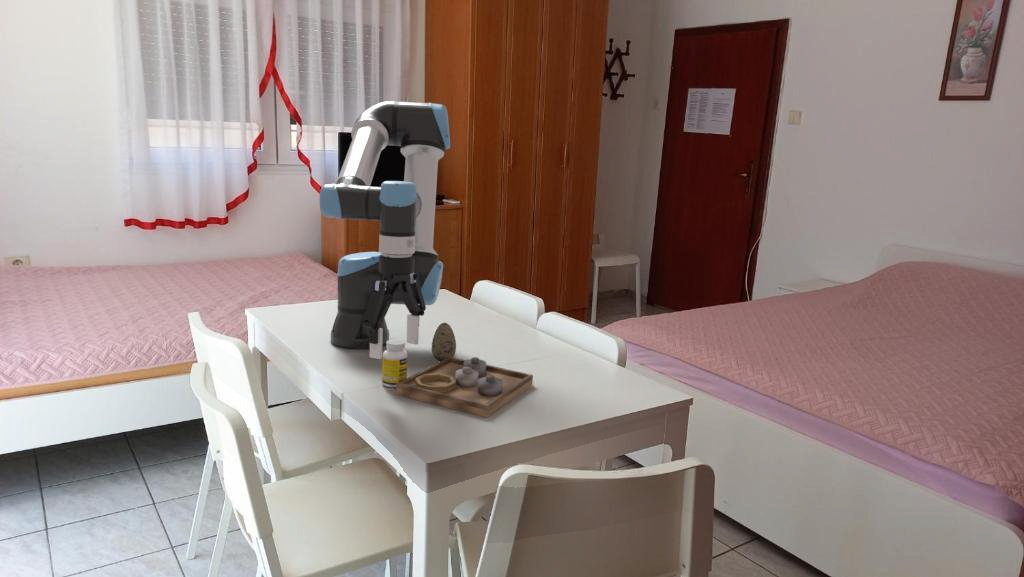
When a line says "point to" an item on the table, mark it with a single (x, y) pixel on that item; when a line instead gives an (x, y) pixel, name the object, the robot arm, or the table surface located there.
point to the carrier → (465, 385)
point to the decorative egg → (443, 342)
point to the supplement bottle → (394, 363)
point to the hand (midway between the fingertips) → (394, 350)
